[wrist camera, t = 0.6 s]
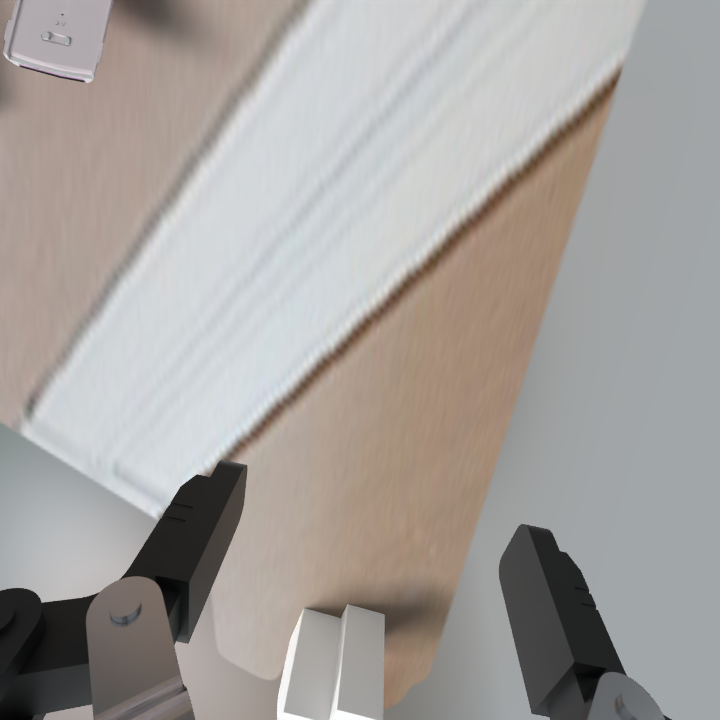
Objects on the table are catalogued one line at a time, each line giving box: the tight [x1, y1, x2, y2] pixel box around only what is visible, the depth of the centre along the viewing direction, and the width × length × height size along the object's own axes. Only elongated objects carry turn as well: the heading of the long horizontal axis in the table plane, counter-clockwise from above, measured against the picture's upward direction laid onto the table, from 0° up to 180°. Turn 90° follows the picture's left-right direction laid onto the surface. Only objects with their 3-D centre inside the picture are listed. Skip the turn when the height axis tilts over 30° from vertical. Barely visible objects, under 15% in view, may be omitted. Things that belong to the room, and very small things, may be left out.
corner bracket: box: [277, 604, 385, 720], centre depth 53 cm, size 11×11×12 cm
